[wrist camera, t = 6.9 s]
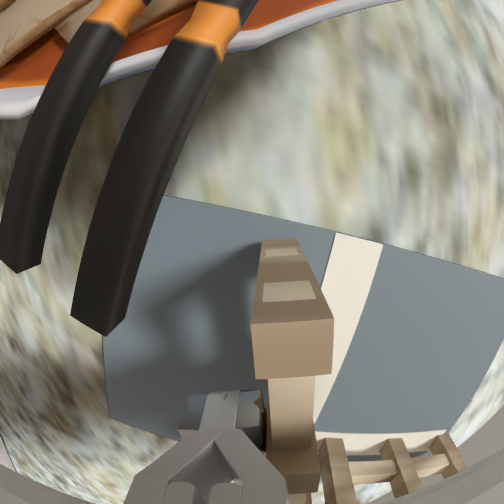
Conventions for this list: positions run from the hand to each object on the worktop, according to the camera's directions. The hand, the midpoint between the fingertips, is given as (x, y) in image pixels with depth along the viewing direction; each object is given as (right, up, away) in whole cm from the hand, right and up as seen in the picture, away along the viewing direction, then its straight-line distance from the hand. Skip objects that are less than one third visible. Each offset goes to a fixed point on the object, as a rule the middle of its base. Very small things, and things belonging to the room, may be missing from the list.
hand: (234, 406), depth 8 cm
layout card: (+4, -1, +5) cm, 6 cm away
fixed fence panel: (+9, -7, +6) cm, 12 cm away
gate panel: (+2, +1, +4) cm, 4 cm away
